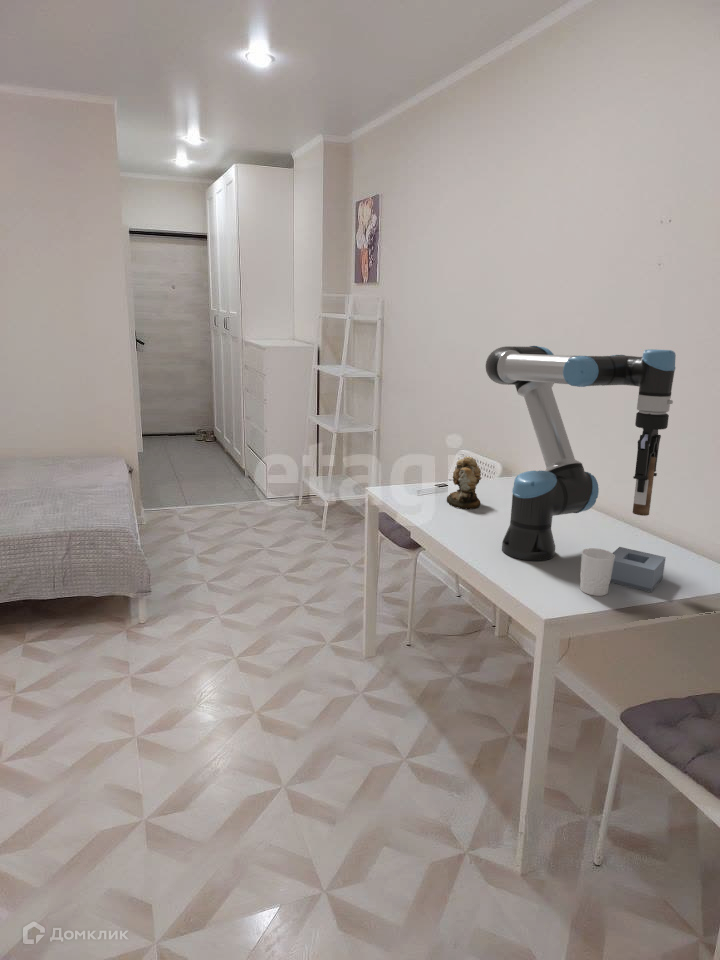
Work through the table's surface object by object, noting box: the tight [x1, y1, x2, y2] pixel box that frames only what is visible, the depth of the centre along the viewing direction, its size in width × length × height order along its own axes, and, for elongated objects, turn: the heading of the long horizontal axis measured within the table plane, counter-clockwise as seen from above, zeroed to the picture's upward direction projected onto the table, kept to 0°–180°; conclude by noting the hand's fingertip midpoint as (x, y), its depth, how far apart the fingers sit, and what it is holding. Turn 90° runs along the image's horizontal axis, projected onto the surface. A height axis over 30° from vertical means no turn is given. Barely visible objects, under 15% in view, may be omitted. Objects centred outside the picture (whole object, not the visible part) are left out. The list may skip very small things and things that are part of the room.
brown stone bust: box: [446, 456, 482, 510], centre depth 242 cm, size 18×12×17 cm, turn 6°
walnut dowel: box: [632, 456, 656, 517], centre depth 173 cm, size 4×4×15 cm
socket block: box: [610, 546, 666, 593], centre depth 178 cm, size 12×12×6 cm
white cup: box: [579, 547, 615, 597], centre depth 169 cm, size 8×8×10 cm
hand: (642, 501), depth 174 cm, fingers closed on walnut dowel, 4 cm apart
